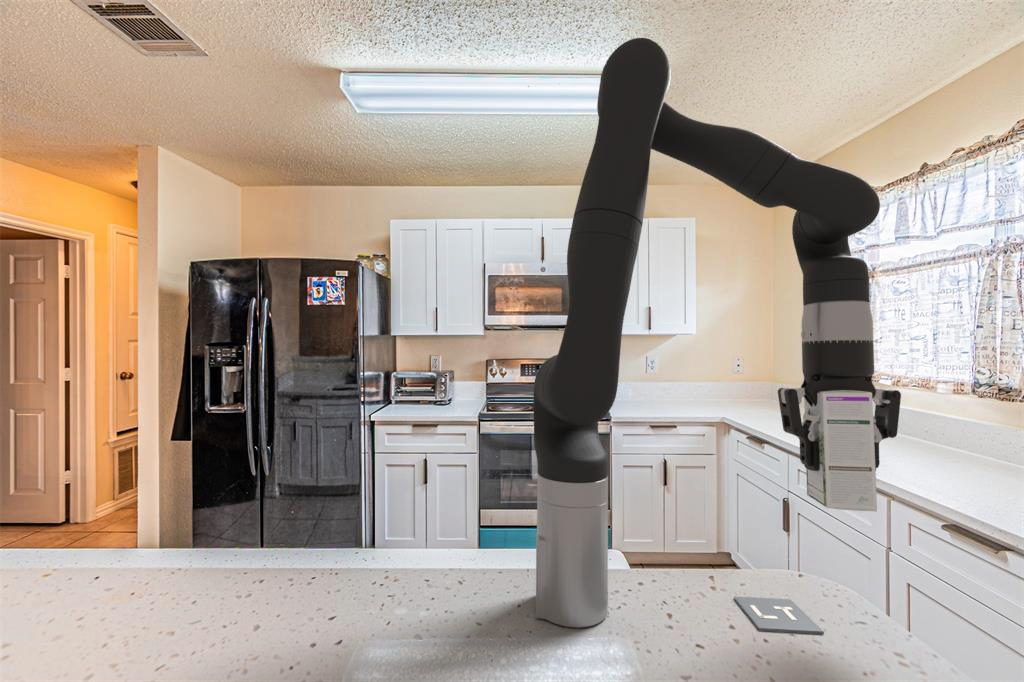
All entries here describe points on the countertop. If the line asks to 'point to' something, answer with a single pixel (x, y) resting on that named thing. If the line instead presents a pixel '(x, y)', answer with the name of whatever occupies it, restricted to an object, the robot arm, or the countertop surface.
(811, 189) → the robot arm
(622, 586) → the countertop surface
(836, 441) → the syrup box
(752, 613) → the tile
